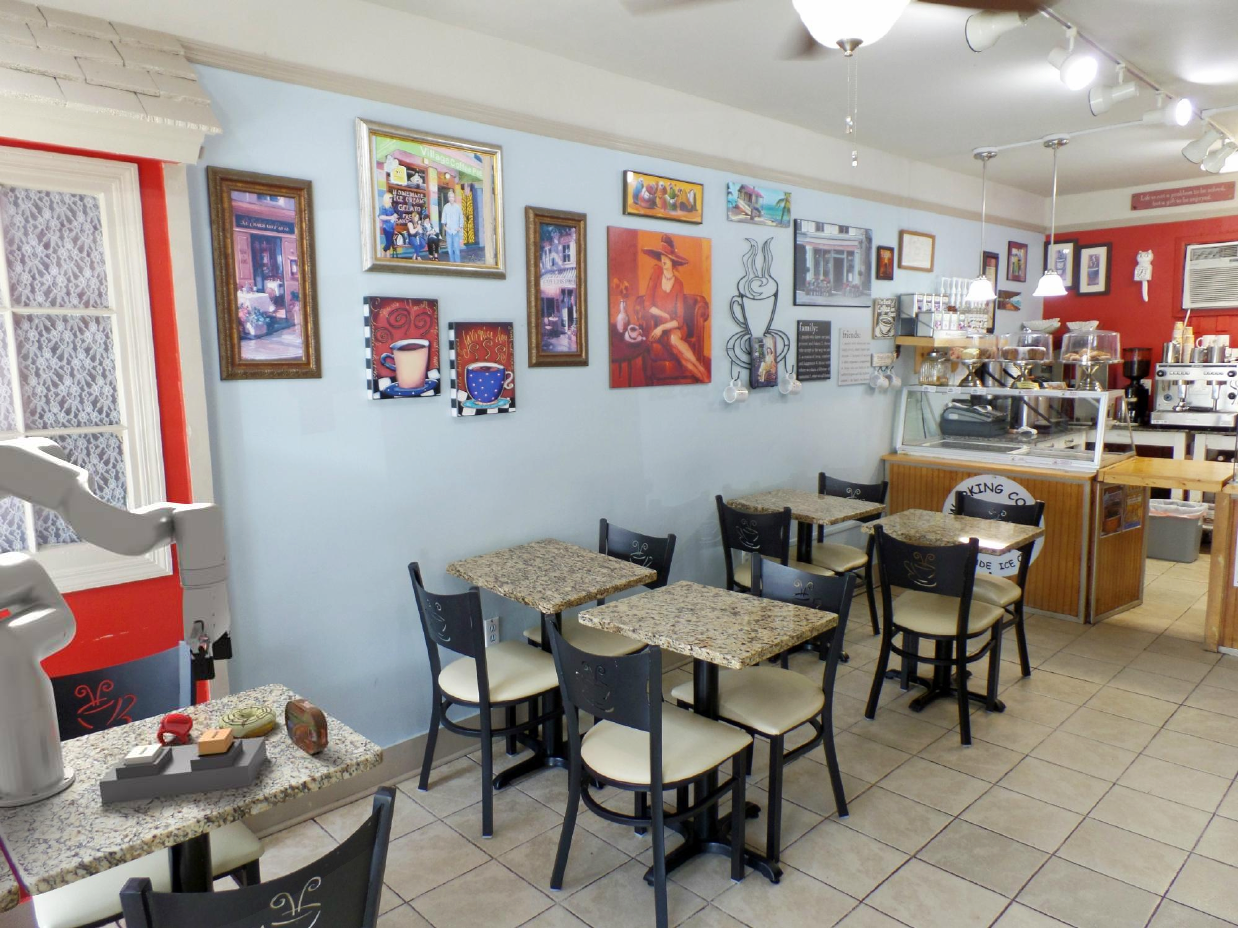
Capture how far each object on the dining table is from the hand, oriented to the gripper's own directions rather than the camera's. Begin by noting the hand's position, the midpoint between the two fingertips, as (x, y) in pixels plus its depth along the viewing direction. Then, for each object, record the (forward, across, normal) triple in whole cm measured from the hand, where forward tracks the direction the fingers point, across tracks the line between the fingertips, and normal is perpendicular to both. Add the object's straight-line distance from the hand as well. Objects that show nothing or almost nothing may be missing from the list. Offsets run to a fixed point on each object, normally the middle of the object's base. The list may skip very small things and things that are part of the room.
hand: (214, 668), depth 142 cm
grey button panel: (+21, -2, -7) cm, 22 cm away
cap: (+21, -19, -15) cm, 32 cm away
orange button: (+14, 0, -1) cm, 14 cm away
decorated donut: (+21, -21, -2) cm, 30 cm away
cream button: (+16, 0, -13) cm, 21 cm away
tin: (+21, -10, +12) cm, 26 cm away
